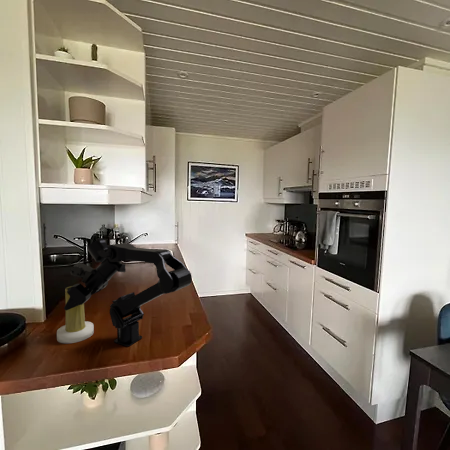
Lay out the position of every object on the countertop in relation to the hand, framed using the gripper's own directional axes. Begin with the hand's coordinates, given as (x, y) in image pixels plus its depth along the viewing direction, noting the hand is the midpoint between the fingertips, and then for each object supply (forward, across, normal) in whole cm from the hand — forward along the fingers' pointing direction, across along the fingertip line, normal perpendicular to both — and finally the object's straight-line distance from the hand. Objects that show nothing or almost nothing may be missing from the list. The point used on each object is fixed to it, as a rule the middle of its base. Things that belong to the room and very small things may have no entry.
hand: (72, 304), depth 90 cm
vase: (+6, 0, +7) cm, 9 cm away
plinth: (+7, 0, +8) cm, 11 cm away
